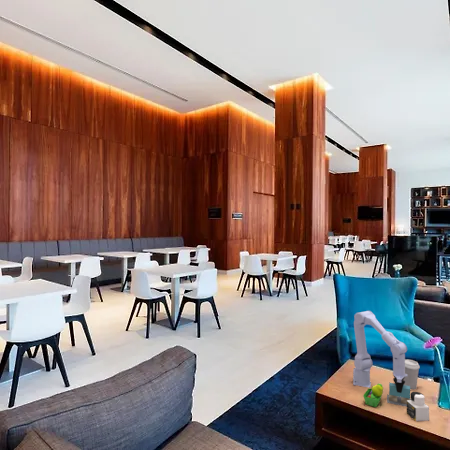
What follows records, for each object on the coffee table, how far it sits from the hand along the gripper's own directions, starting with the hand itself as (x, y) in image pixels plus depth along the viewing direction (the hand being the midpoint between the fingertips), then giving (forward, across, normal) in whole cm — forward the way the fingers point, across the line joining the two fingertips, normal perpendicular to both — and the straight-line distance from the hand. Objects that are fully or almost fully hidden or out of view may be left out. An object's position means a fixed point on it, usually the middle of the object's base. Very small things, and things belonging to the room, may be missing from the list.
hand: (399, 390), depth 182 cm
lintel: (+2, 0, 0) cm, 2 cm away
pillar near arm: (+6, 0, +3) cm, 6 cm away
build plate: (+6, 0, 0) cm, 6 cm away
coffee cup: (+6, +21, -6) cm, 23 cm away
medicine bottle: (+6, -13, -8) cm, 17 cm away
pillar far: (+6, 0, -3) cm, 6 cm away
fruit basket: (+6, -8, +12) cm, 16 cm away
